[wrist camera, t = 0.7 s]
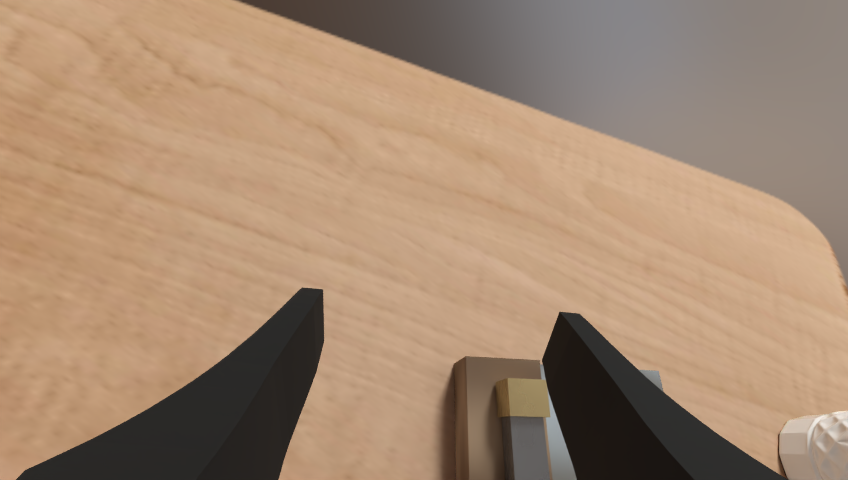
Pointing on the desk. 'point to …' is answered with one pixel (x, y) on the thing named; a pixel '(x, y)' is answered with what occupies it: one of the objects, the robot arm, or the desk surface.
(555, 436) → the door board
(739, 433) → the desk surface
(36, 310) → the desk surface
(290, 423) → the robot arm
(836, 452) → the white cup
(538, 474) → the latch bar
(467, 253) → the desk surface
